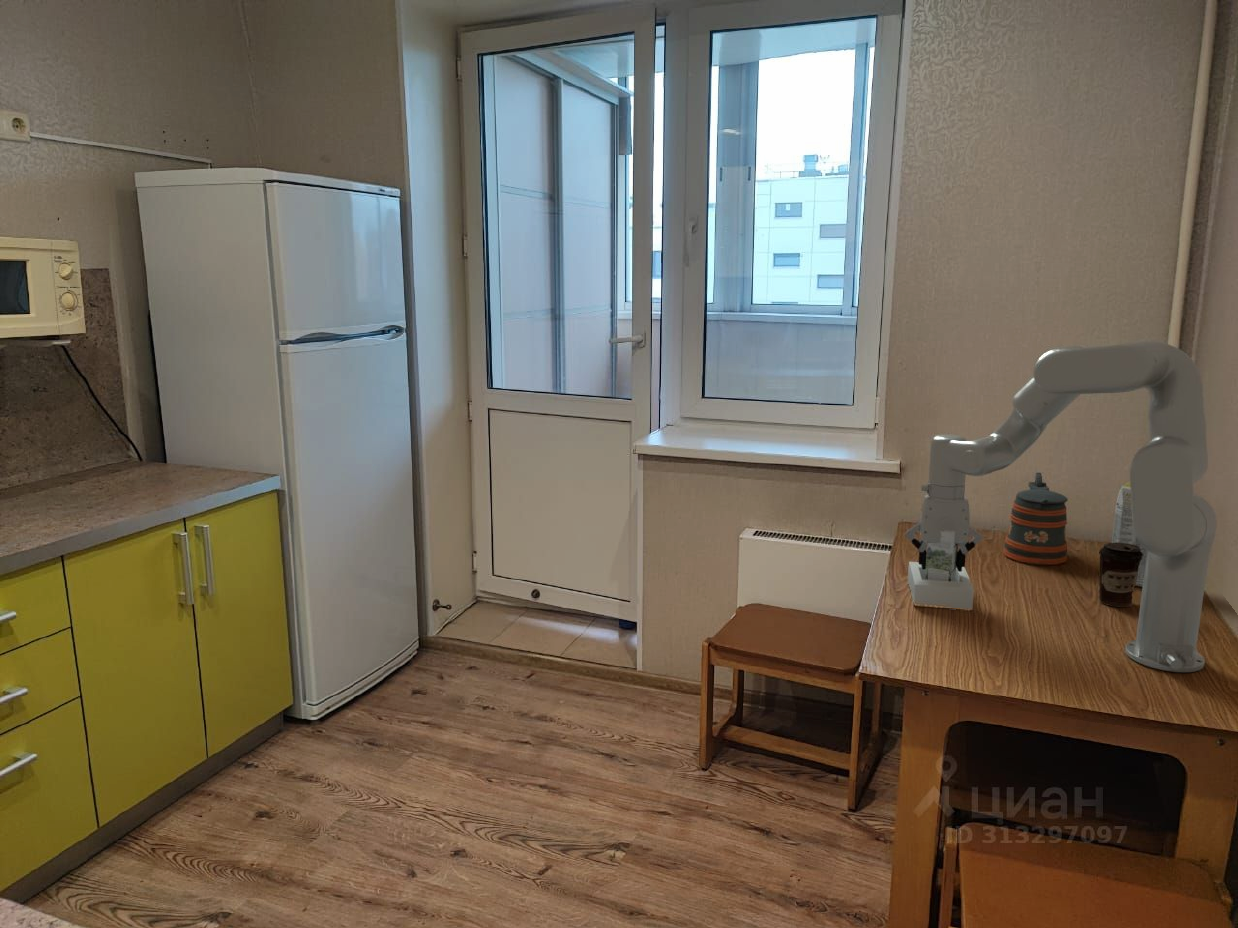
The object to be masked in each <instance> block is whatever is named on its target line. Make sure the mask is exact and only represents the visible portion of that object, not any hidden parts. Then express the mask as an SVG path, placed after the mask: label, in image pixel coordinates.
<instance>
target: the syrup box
mask: <svg viewBox="0 0 1238 928" xmlns="http://www.w3.org/2000/svg"><path fill="white" fill-rule="evenodd" d="M940 532H941V542H940V543H928V542H927V547H926V552H927V556H926V573H925V580H937V581H953V582H956V567H957V553H958V550H959V545H958V544H955V530H953V531H950V530H949V531H940Z"/></svg>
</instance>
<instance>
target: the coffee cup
mask: <svg viewBox="0 0 1238 928" xmlns="http://www.w3.org/2000/svg"><path fill="white" fill-rule="evenodd" d="M1140 550H1141V549H1140V548H1139V547H1138V546H1136V545H1132V544H1128V543H1118V542H1116V543H1112V542H1108V543H1106V544H1103V547H1101V548H1100V549H1099V552H1098V554H1099V576H1098V578H1099V580H1098V581H1099V582H1098V583H1099V584H1098V586H1099V587H1098V588H1099V589H1098V593H1099V596H1098V597H1099V599H1098V600H1099V602H1100V603H1101V604H1104V605H1107V606H1112V607H1118V608H1126V607H1132V605H1133V592H1134V589H1135V586H1136V585H1135V584H1136V581H1137V576H1138V568H1139V564H1140V561H1141V560H1142V556H1143V553H1142V552H1141V551H1140Z"/></svg>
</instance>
